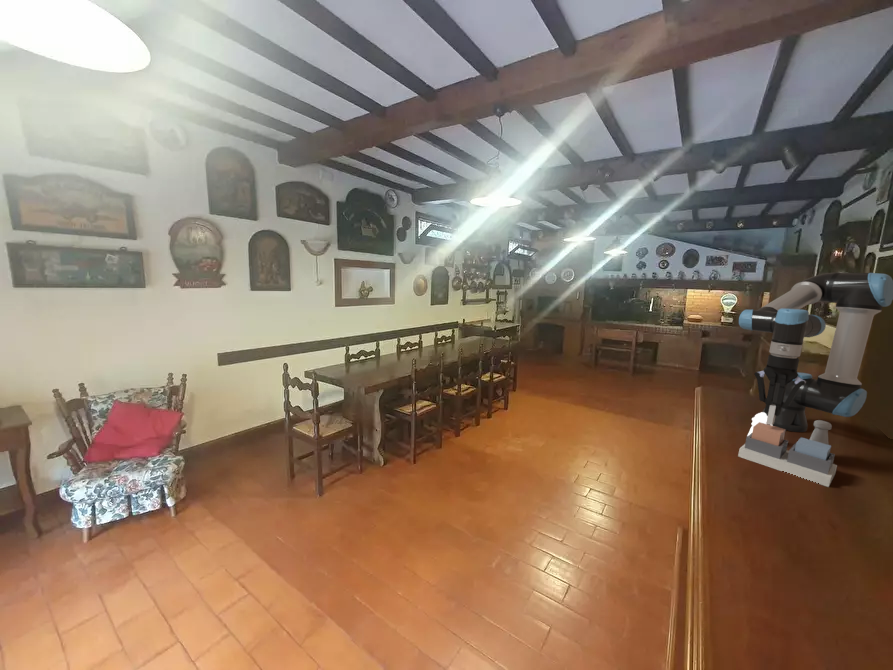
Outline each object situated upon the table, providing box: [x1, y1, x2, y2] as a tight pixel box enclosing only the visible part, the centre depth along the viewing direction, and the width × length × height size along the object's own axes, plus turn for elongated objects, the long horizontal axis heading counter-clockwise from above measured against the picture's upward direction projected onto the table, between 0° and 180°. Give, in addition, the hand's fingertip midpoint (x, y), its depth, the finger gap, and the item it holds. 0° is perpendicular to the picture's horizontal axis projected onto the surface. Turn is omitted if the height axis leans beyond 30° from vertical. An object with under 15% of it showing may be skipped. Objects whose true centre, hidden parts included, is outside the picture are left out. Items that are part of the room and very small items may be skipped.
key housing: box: [737, 433, 838, 488], centre depth 121 cm, size 13×22×7 cm, turn 37°
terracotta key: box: [751, 422, 787, 446], centre depth 124 cm, size 7×7×5 cm
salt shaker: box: [809, 419, 833, 445], centre depth 127 cm, size 6×6×13 cm
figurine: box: [746, 411, 768, 437], centre depth 136 cm, size 7×7×12 cm
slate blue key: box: [795, 436, 832, 461], centre depth 116 cm, size 7×7×5 cm
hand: (770, 423), depth 123 cm, fingers closed
